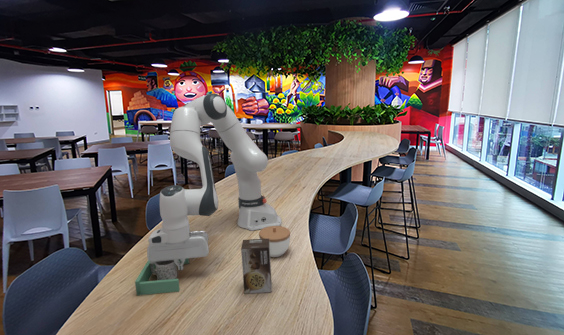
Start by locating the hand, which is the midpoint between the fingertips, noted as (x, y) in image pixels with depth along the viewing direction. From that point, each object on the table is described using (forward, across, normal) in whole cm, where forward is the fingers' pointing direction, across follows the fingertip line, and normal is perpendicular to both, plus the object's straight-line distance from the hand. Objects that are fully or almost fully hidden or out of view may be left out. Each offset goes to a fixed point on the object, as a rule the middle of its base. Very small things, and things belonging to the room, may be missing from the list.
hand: (180, 269), depth 104 cm
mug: (+3, +7, -2) cm, 8 cm away
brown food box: (+4, -26, +11) cm, 29 cm away
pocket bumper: (+3, +5, -1) cm, 6 cm away
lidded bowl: (+4, -35, -11) cm, 37 cm away
